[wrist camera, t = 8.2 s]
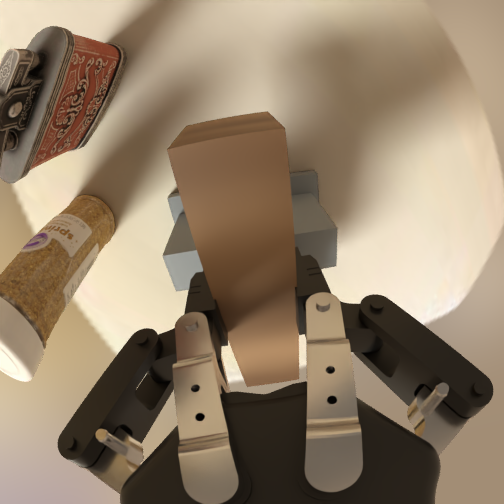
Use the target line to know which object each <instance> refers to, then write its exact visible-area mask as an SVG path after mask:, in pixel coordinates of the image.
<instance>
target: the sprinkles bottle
mask: <svg viewBox="0 0 504 504" xmlns="http://www.w3.org/2000/svg"><path fill="white" fill-rule="evenodd" d="M114 229H115V224H114V217H113V214H112V212H111V210H110V209H109V207H108V206H107V205H106V204H105V203H104V202H103V201H102V200H100V199H99V198H97V197H95V196H90V195H82V196H78V197H77V198H75V199H74V200H73V201H72V202H71V203H70V205H69V206H68V207H67V208H66V209H64V210H63V211H62V212H61V213H60V214H59V215H58V216H56V217H54V218H53V219H52V220H51V221H50V222H49V223H48V224H46V225H45V226H44V227H43V228H42V229H41V230H40V231H39V232H38V233H37V234H36V235H35V236H34V237H33V238H32V239H31V240H30V241H29V242H28V243H27V244H26V245H25V246H24V247H23V248H22V250H21V251H20V253H19V254H18V255H17V256H16V257H15V259H14V260H13V261H12V262H11V263H10V264H9V265H8V266H7V268H6V269H5V270H4V271H3V272H2V274H1V275H0V370H1V371H2V372H4V373H5V374H7V375H8V376H10V377H12V378H14V379H17V380H19V381H25V382H27V381H30V380H31V379H32V378H33V377H34V374H35V372H36V370H37V368H38V366H39V364H40V362H41V360H42V358H43V355H44V349H45V348H46V341H47V339H48V338H49V336H50V334H51V332H52V330H53V328H54V326H55V324H56V323H57V321H58V319H59V317H60V316H61V314H62V313H63V312H64V310H65V308H66V307H67V305H68V303H69V302H70V300H71V298H72V297H73V295H74V293H75V292H76V290H77V288H78V287H79V285H80V284H81V282H82V280H83V279H84V277H85V276H86V274H87V273H88V271H89V269H90V268H91V266H92V265H93V263H94V262H95V260H96V258H97V256H98V254H99V252H100V251H101V249H102V248H103V247H104V246H105V244H107V243H108V242H109V241H110V240H111V238H112V236H113V234H114Z"/></svg>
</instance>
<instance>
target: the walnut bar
mask: <svg viewBox="0 0 504 504" xmlns="http://www.w3.org/2000/svg"><path fill="white" fill-rule="evenodd" d="M167 151H168V155H169V158H170V162H171V166H172V169H173V173H174V177H175V180H176V184H177V187H178V191H179V194H180V198H181V201H182V204H183V208H184V211H185V214H186V218H187V221H188V224H189V227H190V230H191V234H192V237H193V240H194V243H195V246H196V249H197V252H198V255H199V258H200V261H201V264H202V267H203V270H204V273H205V276H206V279H207V282H208V285H209V288H210V291H211V294H212V297H213V299H214V300H215V299H216V301H217V304H218V307H219V310H220V312H221V315H222V318H223V321H224V324H225V326H226V329H227V332H228V340H229V343H230V345H231V348H232V351H233V353H234V356H235V358H236V361H237V363H238V366H239V368H240V371H241V373H242V376H243V378H244V381H245V383H246V385H247V387H249V386H257V385H264V384H272V383H279V382H284V381H291V380H297V379H299V332H298V328H297V323H296V304H295V287H297V274H296V255H295V238H294V223H293V209H292V196H291V185H290V173H289V163H288V153H287V143H286V134H285V128H284V127H283V126H282V125H281V124H280V123H279V122H278V121H277V120H276V119H275V118H274V117H273V116H272V115H271V114H270V113H269V112H260V113H253V114H246V115H239V116H233V117H227V118H222V119H217V120H211V121H206V122H202V123H197V124H193V125H188V126H186V127H185V128H184V129H183V131H182V132H181V133H180V134H179V135H178V137H177V138H176V139H175V140H174V142H173V143H172V144H171V145H170V146H169V148H168V149H167Z"/></svg>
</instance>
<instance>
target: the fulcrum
mask: <svg viewBox="0 0 504 504" xmlns="http://www.w3.org/2000/svg"><path fill="white" fill-rule="evenodd" d="M290 185H291V196H292V209H293V223H294V238H295V247H297V246H298V248H299V251H300V253H301V256H304V255H311V256H312V257H313V258H315V259H316V260H317V262H318V264H319V266H320V269H323V268H329V267H334V266H336V259H337V227H336V226H335V224H334V223H333V221H332V220H331V219H330V217H329V216H328V214H327V213H326V212H325V210H324V209H323V208H322V206H321V205H320V203H319V193H318V176H317V173H316V172H315V171H314V170H312V171H303V172H295V173H290ZM167 199H168V202H169V206H170V209H171V213H172V216H173V219H174V223H175V226H174V228H173V231H172V233H171V236H170V238H169V241H168V243H167V246H166V248H165V251H164V253H163V259H164V261H165V264H166V267H167V269H168V272H169V274H170V277H171V279H172V282H173V284H174V287H175V289H176V291H183V290H189V285H190V280H191V278H192V277H193V276H194V274H195V273H196V272H203V267H202V264H201V261H200V258H199V255H198V252H197V249H196V246H195V243H194V240H193V237H192V234H191V230H190V227H189V224H188V221H187V218H186V214H185V211H184V208H183V204H182V201H181V198H180V194H179V192H178V193H173V194H170V195H169V196H168V198H167Z"/></svg>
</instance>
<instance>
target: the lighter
mask: <svg viewBox="0 0 504 504" xmlns="http://www.w3.org/2000/svg"><path fill="white" fill-rule="evenodd" d="M126 63H127V53H126V51H125V50H124V48H122V47H121V46H119V45H116V44H113V43H102V42H99V41H96V40H92V39H89V38H85V37H82V36H78V35H74V34H72V32H71V31H69V30H67V29H65V28H61V27H57V26H50V27H47V28H45V29H43V30H41V31H40V32H39V33H37V34H36V35H35V37H34V38H33V39H32V40H31V42H30V44H29V45H28V47H27V48H26V49H9V50H7V52H6V53H5V55H4V57H3V59H2V61H1V64H0V178H1V179H2V180H3V181H5V182H7V183H15V182H17V181H18V180H20V179H22V178H23V177H25V176H26V175H27V174H28V172H29V171H30V170H31V169H33V168H35V167H37V166H38V165H40V164H42V163H44V162H46V161H48V160H50V159H52V158H54V157H56V156H58V155H60V154H63V153H65V152H67V151H75V150H77V149H80V148H82V147H84V146H85V144H86V143H87V142H88V140H89V139H90V137H91V136H92V134H93V132H94V131H95V129H96V128H97V126H98V125H99V123H100V121H101V119H102V117H103V115H104V113H105V112H106V110H107V108H108V106H109V104H110V102H111V100H112V97H113V95H114V93H115V91H116V89H117V86H118V84H119V82H120V79H121V76H122V74H123V71H124V68H125V66H126Z"/></svg>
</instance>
